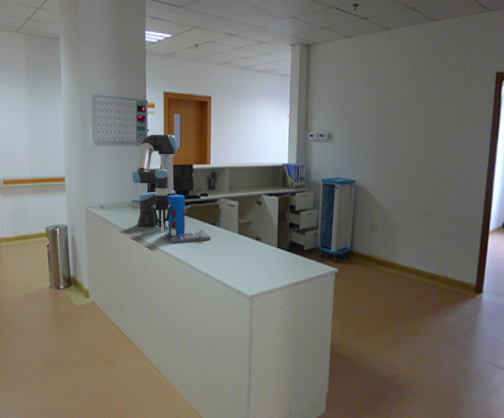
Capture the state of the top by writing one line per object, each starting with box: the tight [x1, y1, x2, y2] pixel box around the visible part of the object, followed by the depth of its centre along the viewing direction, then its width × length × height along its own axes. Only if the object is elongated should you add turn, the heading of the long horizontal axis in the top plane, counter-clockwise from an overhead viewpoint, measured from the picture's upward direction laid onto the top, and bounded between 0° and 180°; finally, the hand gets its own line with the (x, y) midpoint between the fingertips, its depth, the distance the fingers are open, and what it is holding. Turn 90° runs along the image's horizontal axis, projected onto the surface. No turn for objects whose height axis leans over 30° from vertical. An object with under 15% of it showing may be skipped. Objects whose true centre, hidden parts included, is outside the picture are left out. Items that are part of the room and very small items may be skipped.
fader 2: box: [198, 228, 206, 237], centre depth 253 cm, size 4×2×4 cm, turn 25°
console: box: [163, 231, 211, 244], centre depth 254 cm, size 15×26×2 cm, turn 115°
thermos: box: [167, 194, 186, 235], centre depth 269 cm, size 11×11×25 cm
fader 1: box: [170, 228, 176, 236], centre depth 254 cm, size 4×2×4 cm, turn 25°
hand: (162, 232), depth 250 cm, fingers closed
